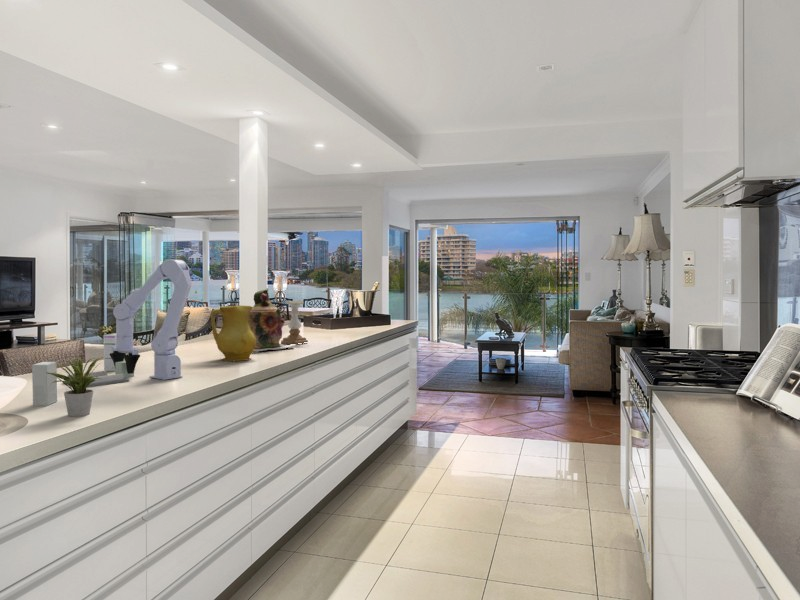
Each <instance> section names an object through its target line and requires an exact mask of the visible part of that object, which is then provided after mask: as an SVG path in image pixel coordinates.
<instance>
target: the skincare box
mask: <svg viewBox="0 0 800 600" xmlns="http://www.w3.org/2000/svg"><path fill="white" fill-rule="evenodd" d="M54 362H55V361H41V362H38V363H34V364H32V365H31V370H32V372H31V373H32V374H31V376H32V377H31V379H32V381H31V383H32V406H33V407H47V406H49V405H53V404H54V403H56V402H58V382H54V381H58V377H56V376H54V375H51V374H47V373H57V371H58V368H57V367H58V366H57V365H58V362H56V363H54ZM57 374H58V373H57ZM54 377H56V378H54ZM53 382H54V383H53Z"/></svg>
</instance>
